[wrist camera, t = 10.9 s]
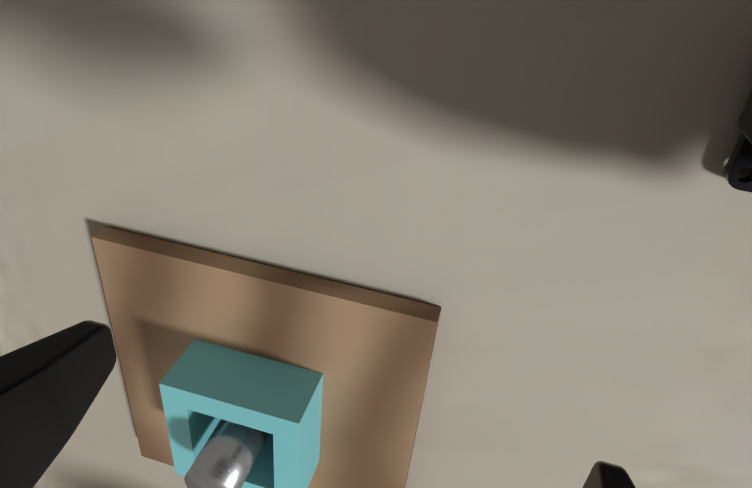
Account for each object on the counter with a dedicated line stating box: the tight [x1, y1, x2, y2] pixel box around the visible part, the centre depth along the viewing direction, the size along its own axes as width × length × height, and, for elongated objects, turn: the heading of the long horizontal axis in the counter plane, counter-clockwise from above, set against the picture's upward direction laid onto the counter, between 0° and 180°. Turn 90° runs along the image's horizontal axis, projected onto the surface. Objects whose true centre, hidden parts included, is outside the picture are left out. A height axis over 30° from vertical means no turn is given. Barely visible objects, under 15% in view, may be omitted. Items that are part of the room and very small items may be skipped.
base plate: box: [92, 227, 441, 488], centre depth 29 cm, size 16×16×1 cm
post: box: [185, 419, 270, 488], centre depth 26 cm, size 2×2×5 cm
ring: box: [159, 339, 323, 488], centre depth 27 cm, size 7×7×3 cm
